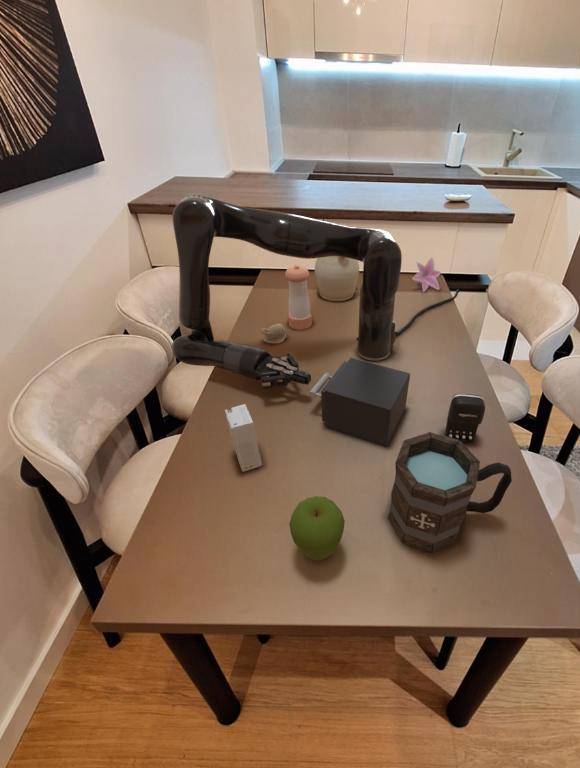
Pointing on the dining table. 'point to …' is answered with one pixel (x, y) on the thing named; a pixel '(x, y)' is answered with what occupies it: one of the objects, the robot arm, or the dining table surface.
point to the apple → (317, 527)
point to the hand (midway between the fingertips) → (309, 379)
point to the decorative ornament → (274, 334)
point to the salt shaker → (298, 298)
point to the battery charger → (464, 417)
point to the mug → (438, 490)
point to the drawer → (320, 384)
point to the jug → (336, 276)
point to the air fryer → (366, 401)
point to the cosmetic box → (243, 437)
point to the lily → (427, 275)
